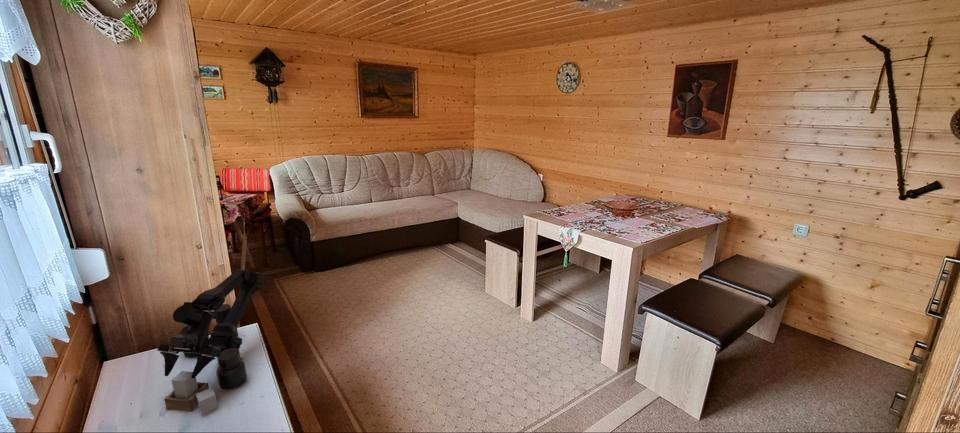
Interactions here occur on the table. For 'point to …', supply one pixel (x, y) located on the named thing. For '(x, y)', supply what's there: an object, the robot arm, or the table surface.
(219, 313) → the deodorant
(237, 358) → the ink bottle
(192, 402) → the walnut collar
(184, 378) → the light grey rectangular block
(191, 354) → the pen holder
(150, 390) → the table surface
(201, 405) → the grey block
